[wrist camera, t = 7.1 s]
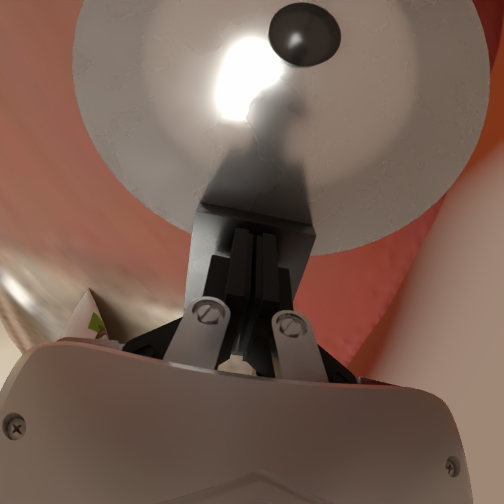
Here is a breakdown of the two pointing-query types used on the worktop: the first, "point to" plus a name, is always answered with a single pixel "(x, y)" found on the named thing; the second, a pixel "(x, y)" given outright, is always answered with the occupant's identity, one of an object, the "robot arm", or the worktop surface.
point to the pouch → (86, 321)
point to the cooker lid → (282, 115)
